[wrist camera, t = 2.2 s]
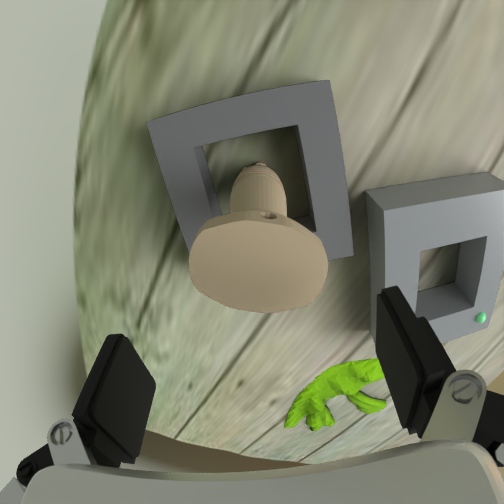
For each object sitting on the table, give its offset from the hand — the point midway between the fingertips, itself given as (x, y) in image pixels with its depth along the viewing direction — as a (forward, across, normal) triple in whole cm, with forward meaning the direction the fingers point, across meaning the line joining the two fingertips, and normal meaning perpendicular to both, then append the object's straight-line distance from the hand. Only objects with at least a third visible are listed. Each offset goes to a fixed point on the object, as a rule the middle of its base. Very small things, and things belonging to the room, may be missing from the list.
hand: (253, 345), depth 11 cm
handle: (+20, 0, -1) cm, 20 cm away
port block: (+19, -18, +11) cm, 28 cm away
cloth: (+21, -6, +36) cm, 42 cm away
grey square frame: (+19, 0, -1) cm, 19 cm away
